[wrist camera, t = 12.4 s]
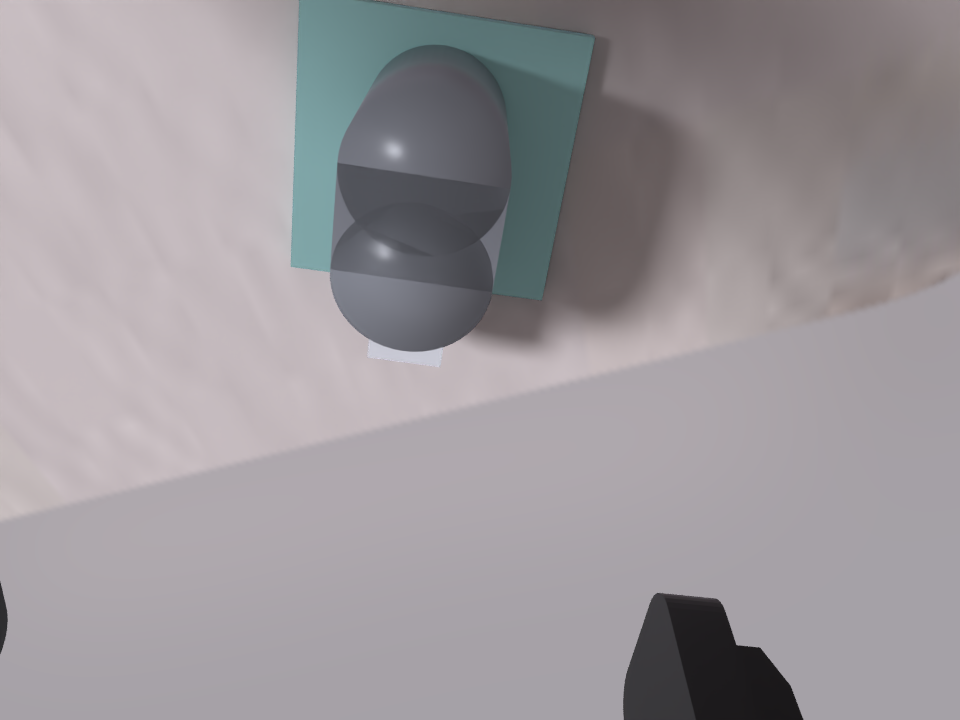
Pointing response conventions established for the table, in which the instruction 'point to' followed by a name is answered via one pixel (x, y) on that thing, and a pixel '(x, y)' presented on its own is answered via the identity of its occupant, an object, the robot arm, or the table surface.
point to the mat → (528, 99)
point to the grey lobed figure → (421, 204)
